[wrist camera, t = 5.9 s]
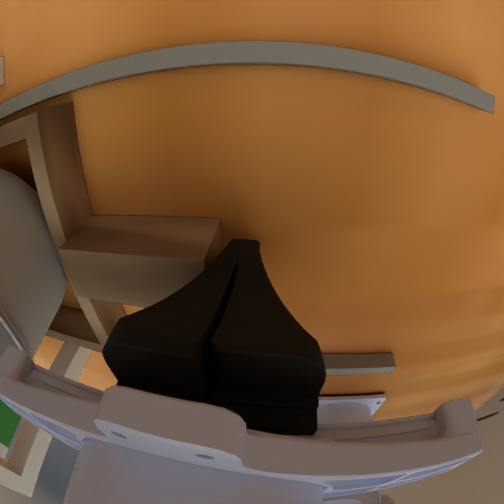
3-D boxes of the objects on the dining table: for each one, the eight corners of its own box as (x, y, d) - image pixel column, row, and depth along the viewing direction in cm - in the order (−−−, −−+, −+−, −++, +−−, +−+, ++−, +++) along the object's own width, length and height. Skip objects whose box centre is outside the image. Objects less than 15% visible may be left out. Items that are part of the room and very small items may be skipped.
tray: (229, 343, 18) (221, 385, 15) (-4, 293, 19) (-20, 314, 17) (216, 77, 9) (191, 76, 6) (-54, 157, 11) (-79, 173, 8)
